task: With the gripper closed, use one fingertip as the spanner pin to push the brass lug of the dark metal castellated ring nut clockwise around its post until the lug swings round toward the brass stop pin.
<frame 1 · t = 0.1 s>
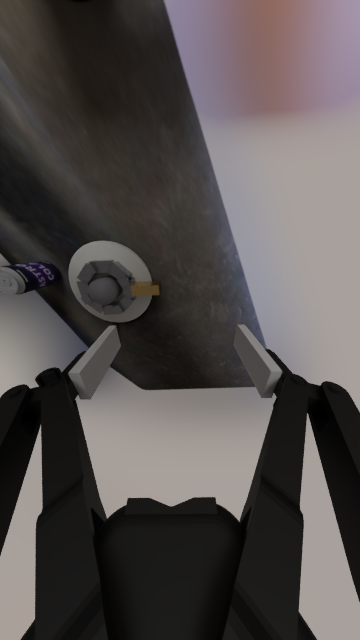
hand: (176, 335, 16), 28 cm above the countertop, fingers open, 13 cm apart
housing: (113, 285, 42), on the countertop
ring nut: (120, 288, 38), point 4 cm above the countertop, hinge at 0.0°
beverage can: (51, 272, 40), on the countertop
stop pin: (115, 325, 48), on the countertop
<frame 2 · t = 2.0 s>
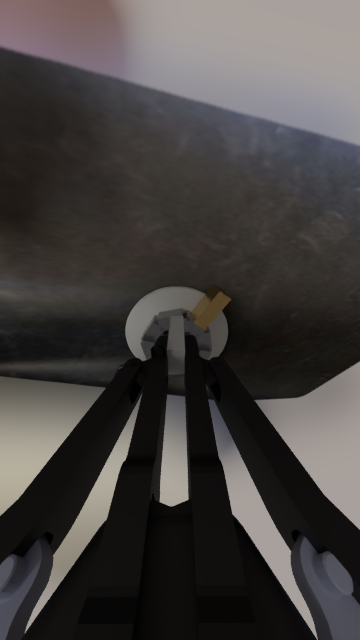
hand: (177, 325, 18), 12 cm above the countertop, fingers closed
housing: (177, 334, 34), on the countertop
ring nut: (186, 333, 29), point 4 cm above the countertop, hinge at 0.0°
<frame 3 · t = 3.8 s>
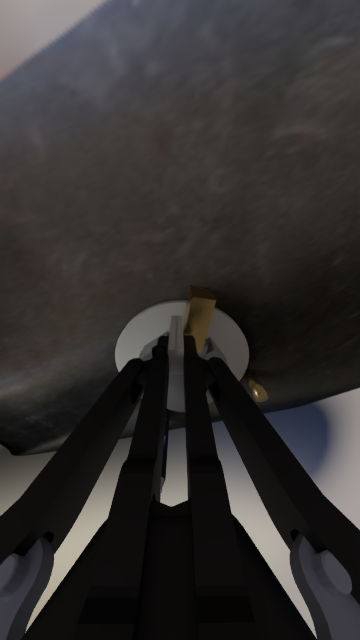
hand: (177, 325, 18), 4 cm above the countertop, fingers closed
housing: (181, 358, 26), on the countertop
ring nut: (185, 360, 21), point 4 cm above the countertop, hinge at 3.5°, touching gripper
beverage can: (157, 410, 34), on the countertop
stop pin: (248, 373, 28), on the countertop
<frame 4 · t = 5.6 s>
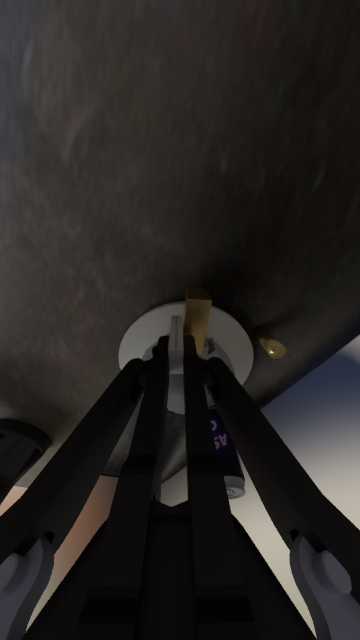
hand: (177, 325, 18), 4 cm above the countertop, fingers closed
housing: (185, 360, 26), on the countertop
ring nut: (187, 362, 21), point 4 cm above the countertop, hinge at 42.1°, touching gripper
beverage can: (213, 411, 33), on the countertop
stop pin: (259, 331, 23), on the countertop
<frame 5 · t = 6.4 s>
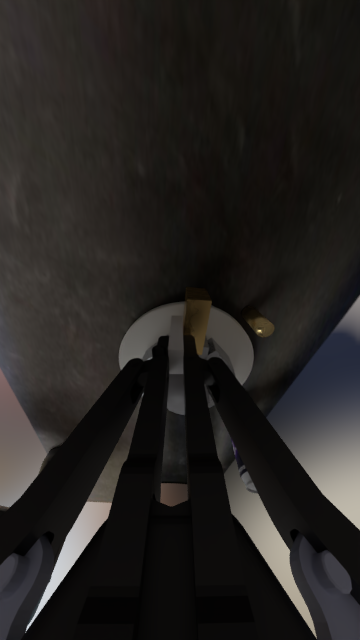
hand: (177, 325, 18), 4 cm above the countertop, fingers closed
housing: (185, 360, 26), on the countertop
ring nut: (188, 362, 21), point 4 cm above the countertop, hinge at 60.5°, touching gripper
beverage can: (236, 404, 32), on the countertop
stop pin: (248, 312, 22), on the countertop
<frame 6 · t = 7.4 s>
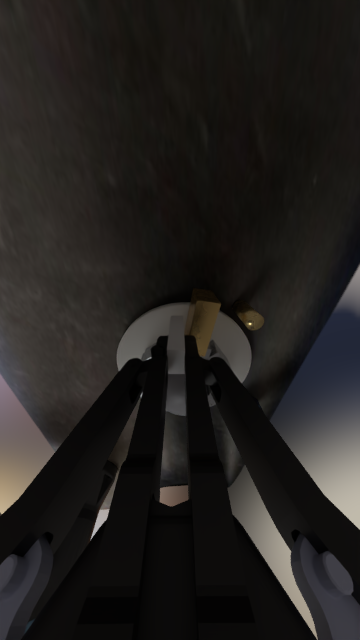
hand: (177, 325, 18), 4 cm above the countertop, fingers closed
housing: (183, 361, 26), on the countertop
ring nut: (188, 363, 21), point 4 cm above the countertop, hinge at 71.8°
stop pin: (239, 306, 21), on the countertop
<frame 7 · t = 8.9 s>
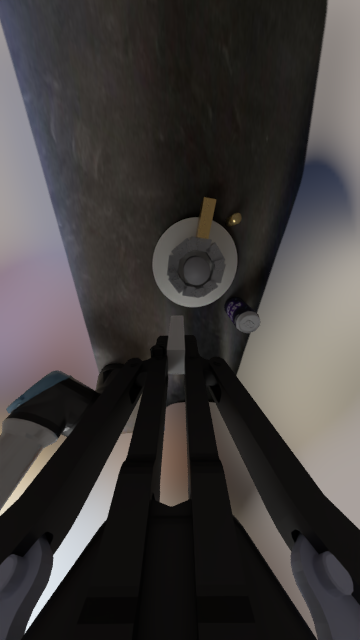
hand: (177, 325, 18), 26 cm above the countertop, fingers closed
housing: (194, 267, 40), on the countertop
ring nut: (198, 254, 35), point 4 cm above the countertop, hinge at 70.6°
beverage can: (232, 304, 45), on the countertop
stop pin: (229, 221, 35), on the countertop
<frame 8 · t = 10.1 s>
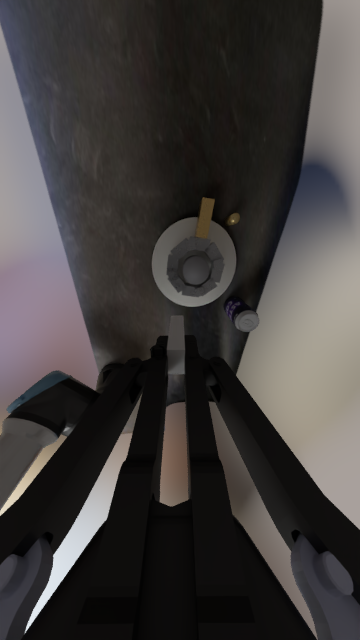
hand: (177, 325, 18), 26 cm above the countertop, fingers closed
housing: (193, 266, 40), on the countertop
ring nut: (197, 254, 35), point 4 cm above the countertop, hinge at 70.6°
beverage can: (232, 304, 46), on the countertop
stop pin: (228, 221, 36), on the countertop
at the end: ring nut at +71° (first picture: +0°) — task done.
